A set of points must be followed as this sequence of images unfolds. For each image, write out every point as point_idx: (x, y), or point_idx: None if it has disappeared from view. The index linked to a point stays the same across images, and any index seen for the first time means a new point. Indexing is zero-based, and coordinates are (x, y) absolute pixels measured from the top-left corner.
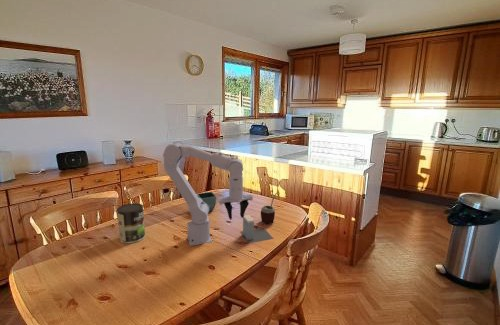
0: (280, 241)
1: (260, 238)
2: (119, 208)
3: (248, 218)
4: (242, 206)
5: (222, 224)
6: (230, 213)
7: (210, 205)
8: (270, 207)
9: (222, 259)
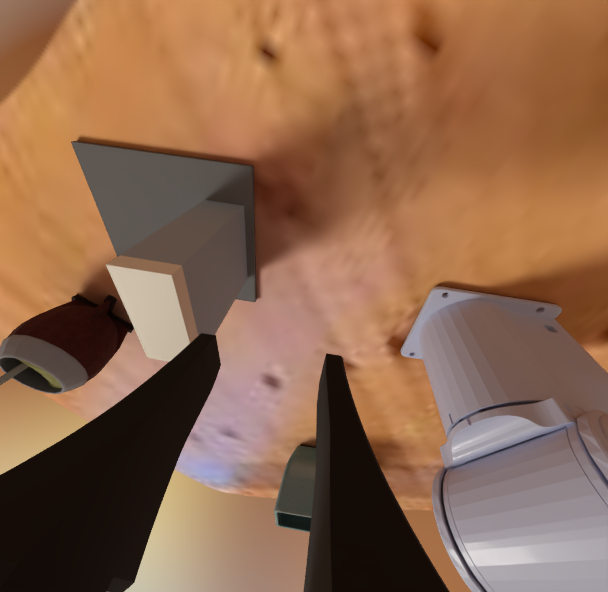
0: (25, 88)
1: (160, 186)
2: None
3: (159, 314)
4: (121, 484)
5: (304, 378)
6: (346, 426)
7: (305, 472)
8: (14, 372)
9: (540, 35)
